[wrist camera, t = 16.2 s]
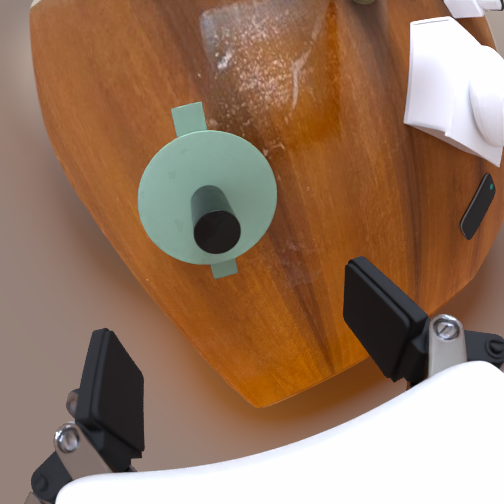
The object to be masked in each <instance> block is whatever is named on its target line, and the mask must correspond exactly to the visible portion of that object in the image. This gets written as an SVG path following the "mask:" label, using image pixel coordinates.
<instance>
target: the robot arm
mask: <svg viewBox="0 0 504 504" xmlns="http://www.w3.org/2000/svg"><path fill="white" fill-rule="evenodd" d="M343 317H344V320H345V322H346V324H347V325H348V326H349V328H350V329H351V330H352V332H353V333H354V334H355V336H356V337H357V338H358V340H359V341H360V342H361V344H362V345H363V346H364V348H365V349H366V350H367V352H368V353H369V354H370V356H371V357H372V359H373V360H374V361H375V363H376V364H377V365H378V367H379V368H380V369H381V371H382V372H383V374H384V375H385V376H386V377H387V378H391V379H392V380H393V382H396V381H398V380H400V379H401V378H403V377H404V378H405V379H406V380H407V389H406V392H404V393H402V394H401V395H399V396H397V397H395V398H393V399H392V400H390V401H388V402H386V403H384V404H382V405H380V406H379V407H377V408H375V409H373V410H371V411H369V412H367V413H365V414H363V415H361V416H359V417H357V418H355V419H353V420H350V421H348V422H346V423H343V424H341V425H339V426H337V427H334V428H332V429H329V430H327V431H325V432H322V433H319V434H317V435H314V436H312V437H309V438H306V439H304V440H301V441H298V442H295V443H292V444H289V445H286V446H283V447H279V448H276V449H273V450H270V451H266V452H262V453H259V454H255V455H251V456H247V457H243V458H239V459H234V460H229V461H224V462H220V463H214V464H208V465H203V466H196V467H189V468H181V469H172V470H161V471H148V472H137V471H136V470H135V468H134V467H132V465H131V459H132V458H142V451H144V448H145V445H144V417H143V416H144V413H143V394H144V388H143V387H144V378H143V375H142V373H141V371H140V370H139V368H138V367H137V366H136V364H135V363H134V361H133V360H132V359H131V357H130V356H129V354H128V353H127V352H126V350H125V348H124V347H123V345H122V344H121V343H120V341H119V339H118V338H117V336H116V335H115V333H114V332H113V331H110V330H109V329H107V328H104V329H99V330H95V331H94V332H93V333H92V337H91V340H90V345H89V348H88V352H87V356H86V360H85V365H84V369H83V374H82V379H81V384H80V389H79V394H78V400H77V405H76V412H75V421H68V423H66V424H63V425H62V426H60V427H59V428H58V430H57V431H56V433H55V435H54V447H55V450H56V451H55V452H54V453H53V454H52V455H51V456H50V457H49V458H48V459H47V460H46V461H45V462H44V463H43V464H42V465H41V466H40V467H39V468H38V469H37V470H36V471H35V472H34V473H33V475H32V478H31V485H32V489H33V492H31V491H30V492H29V495H28V497H27V499H26V501H25V503H24V504H504V339H503V338H502V337H501V336H499V335H496V334H490V333H481V332H474V331H467V330H464V329H463V326H462V324H461V323H460V321H459V320H458V319H456V318H455V317H453V316H451V315H447V314H440V315H437V316H435V317H434V318H432V320H431V319H430V318H429V317H428V315H427V314H426V313H425V312H424V311H423V310H422V309H421V308H420V307H419V306H418V305H417V304H416V303H415V302H414V301H413V300H411V299H410V298H409V297H408V296H407V295H406V294H405V293H404V292H403V291H402V290H401V289H400V288H399V287H397V286H396V285H395V284H394V283H393V282H392V281H391V280H390V279H389V278H388V277H386V276H385V275H384V274H383V273H382V272H381V271H380V270H379V269H377V268H376V267H375V266H374V265H373V264H372V263H370V262H369V261H368V260H367V259H366V258H365V257H363V256H360V257H357V258H354V259H351V260H349V262H348V265H346V266H345V285H344V306H343Z"/></svg>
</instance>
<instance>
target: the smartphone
mask: <svg viewBox="0 0 504 504" xmlns="http://www.w3.org/2000/svg"><path fill="white" fill-rule="evenodd" d="M494 195H495V186H494V183H493V180H492V177H491V175H490V174H488V173H487V174H486V175H485V176H484V179H483V181H482V183H481V185H480V187H479V189H478V191H477V193H476V195H475V196H474V198H473V200H472V202H471V204H470V206H469V208H468V209H467V211H466V213H465V215H464V216H463V218H462V220H461V223H460V227H461V230H462V232H463V234H464V236H465V238H466V239H467V240H470V239H471V238H472V237H473V235H474V234H475V232H476V230H477V228H478V227H479V225H480V223H481V221H482V219H483V217H484V216H485V214H486V212H487V210H488V208H489V206H490V204H491V202H492V200H493V198H494Z"/></svg>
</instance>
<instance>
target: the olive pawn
mask: <svg viewBox="0 0 504 504" xmlns="http://www.w3.org/2000/svg"><path fill="white" fill-rule="evenodd" d="M352 1H354V2H356V3H358V4H363V5H367V4H370V3H372V2H374V1H375V0H352Z"/></svg>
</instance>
